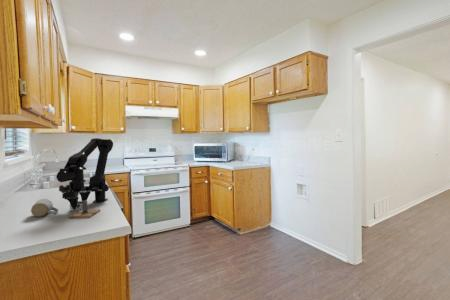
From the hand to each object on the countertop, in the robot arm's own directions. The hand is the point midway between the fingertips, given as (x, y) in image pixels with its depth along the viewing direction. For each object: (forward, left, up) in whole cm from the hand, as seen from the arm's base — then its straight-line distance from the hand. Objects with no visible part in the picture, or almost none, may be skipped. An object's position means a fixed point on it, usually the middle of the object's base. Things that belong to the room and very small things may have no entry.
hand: (79, 207), depth 129 cm
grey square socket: (0, 0, -1) cm, 1 cm away
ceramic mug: (+8, -12, -1) cm, 15 cm away
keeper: (+11, +9, -1) cm, 14 cm away
